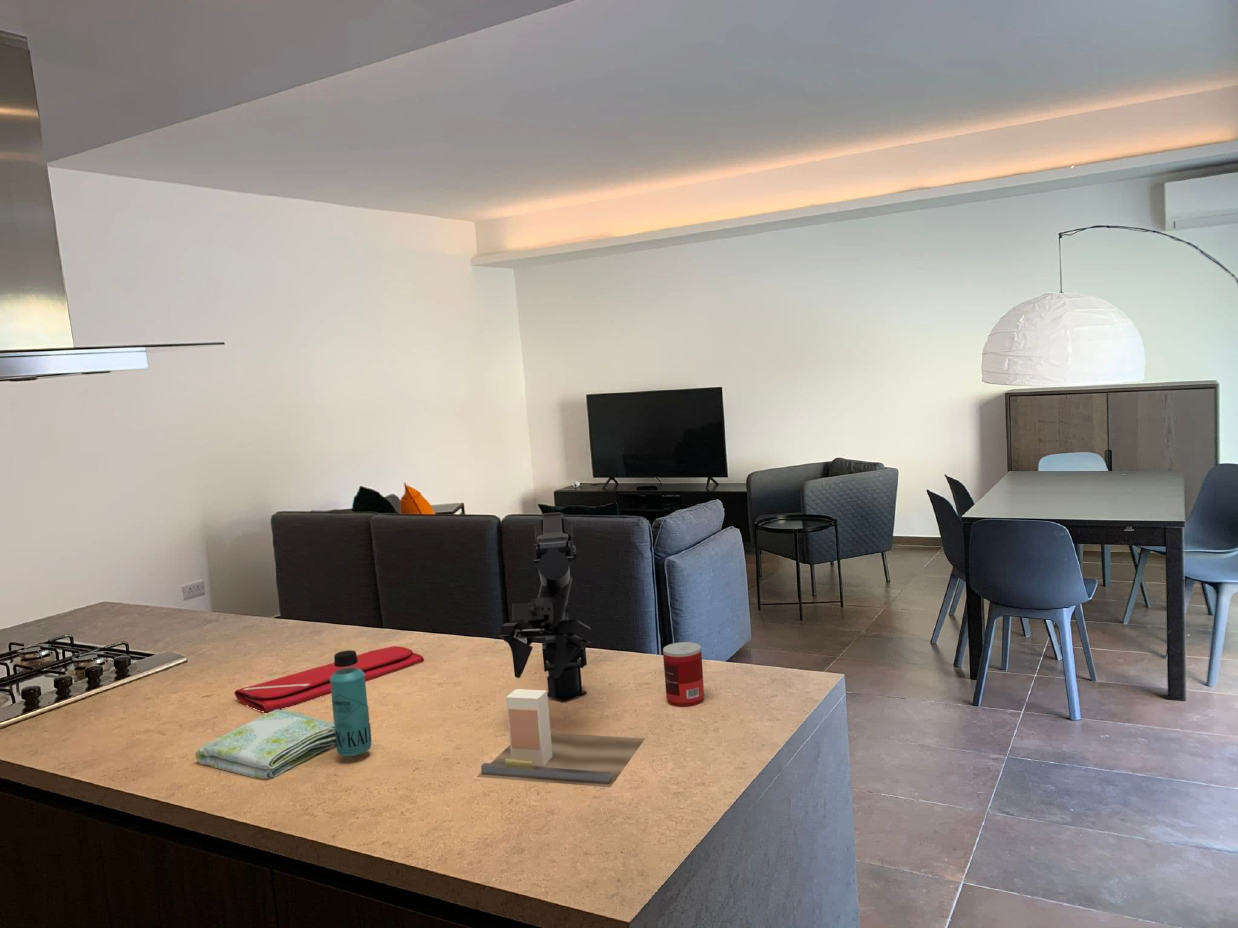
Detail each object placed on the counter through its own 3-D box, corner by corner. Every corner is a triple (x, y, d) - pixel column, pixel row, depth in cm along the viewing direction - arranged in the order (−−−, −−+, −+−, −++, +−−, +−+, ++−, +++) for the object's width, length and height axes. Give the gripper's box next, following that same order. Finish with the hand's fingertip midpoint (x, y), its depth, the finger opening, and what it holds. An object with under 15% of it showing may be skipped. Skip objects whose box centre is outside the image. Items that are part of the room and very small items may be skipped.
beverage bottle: (341, 751, 170) (330, 648, 168) (376, 747, 170) (366, 645, 168) (333, 766, 163) (321, 659, 161) (370, 762, 164) (359, 655, 162)
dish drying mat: (425, 663, 223) (424, 648, 222) (267, 717, 193) (265, 700, 193) (390, 653, 233) (388, 639, 233) (234, 703, 204) (232, 687, 203)
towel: (269, 784, 158) (266, 756, 158) (194, 765, 169) (191, 739, 169) (347, 744, 174) (345, 719, 174) (275, 729, 185) (272, 705, 184)
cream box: (521, 754, 160) (515, 688, 159) (552, 756, 158) (546, 690, 157) (511, 764, 156) (505, 697, 155) (543, 766, 154) (537, 699, 153)
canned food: (709, 694, 185) (706, 642, 184) (696, 708, 178) (692, 654, 177) (675, 691, 188) (671, 640, 187) (660, 705, 181) (656, 652, 180)
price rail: (485, 770, 154) (484, 756, 154) (612, 779, 147) (611, 765, 147) (481, 774, 153) (480, 760, 152) (609, 784, 145) (608, 769, 145)
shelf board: (524, 736, 170) (524, 731, 170) (645, 743, 163) (645, 738, 163) (477, 782, 152) (476, 776, 152) (610, 792, 144) (610, 786, 144)
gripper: (490, 585, 173) (470, 664, 166) (565, 578, 162) (547, 663, 155) (526, 606, 180) (509, 682, 173) (600, 601, 170) (585, 682, 163)
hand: (535, 677), depth 166 cm, fingers open, 9 cm apart
